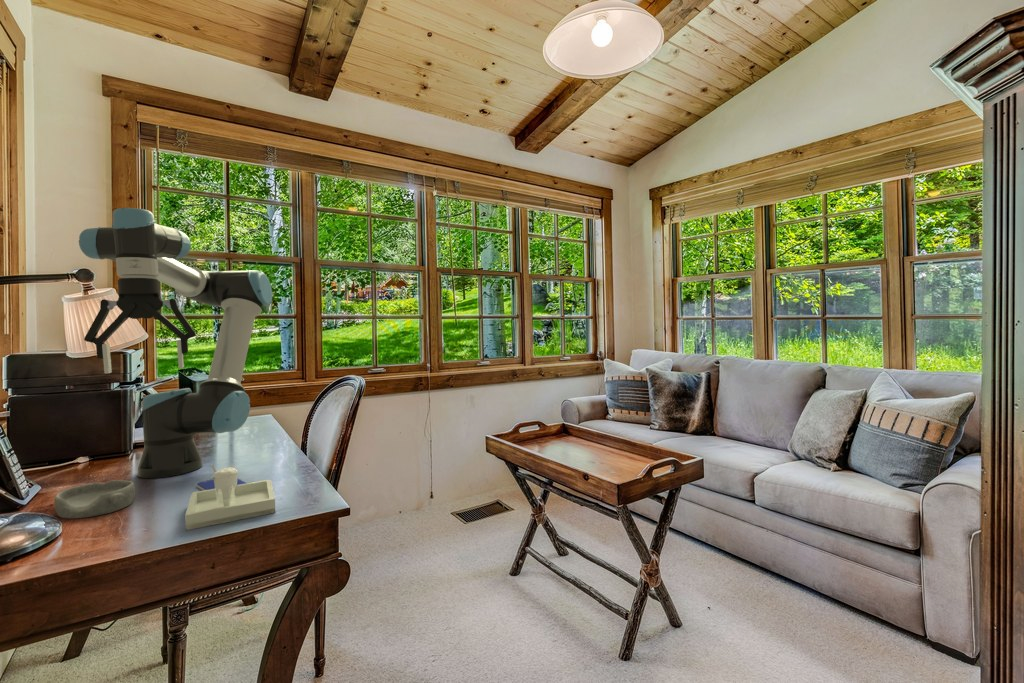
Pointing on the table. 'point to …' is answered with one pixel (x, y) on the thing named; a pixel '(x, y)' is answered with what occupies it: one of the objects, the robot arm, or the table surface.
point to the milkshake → (225, 486)
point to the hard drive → (210, 484)
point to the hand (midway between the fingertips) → (145, 370)
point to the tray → (249, 504)
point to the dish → (94, 499)
